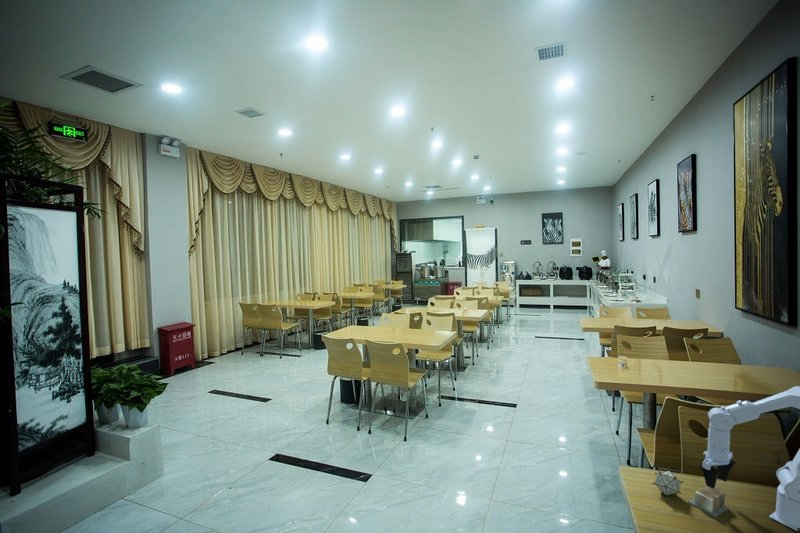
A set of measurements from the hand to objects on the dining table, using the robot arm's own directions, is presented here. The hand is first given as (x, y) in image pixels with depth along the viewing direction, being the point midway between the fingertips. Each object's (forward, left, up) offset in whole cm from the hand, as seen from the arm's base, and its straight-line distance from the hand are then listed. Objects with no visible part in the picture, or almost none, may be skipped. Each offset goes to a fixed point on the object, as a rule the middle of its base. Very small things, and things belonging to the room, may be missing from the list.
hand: (716, 483), depth 135 cm
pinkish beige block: (0, 0, -4) cm, 4 cm away
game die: (+10, +10, -7) cm, 16 cm away
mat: (0, +5, -6) cm, 8 cm away
